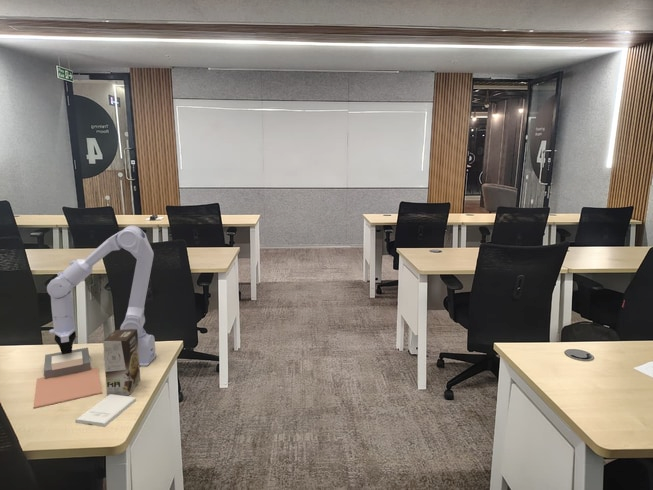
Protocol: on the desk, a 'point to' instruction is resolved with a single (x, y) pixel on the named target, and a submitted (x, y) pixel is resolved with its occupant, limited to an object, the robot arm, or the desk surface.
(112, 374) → the coffee box
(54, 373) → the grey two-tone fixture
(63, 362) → the tile
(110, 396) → the external hard drive
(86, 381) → the mat
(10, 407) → the desk surface
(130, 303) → the robot arm
